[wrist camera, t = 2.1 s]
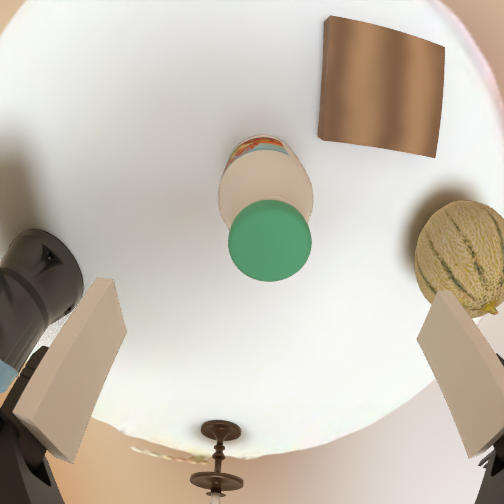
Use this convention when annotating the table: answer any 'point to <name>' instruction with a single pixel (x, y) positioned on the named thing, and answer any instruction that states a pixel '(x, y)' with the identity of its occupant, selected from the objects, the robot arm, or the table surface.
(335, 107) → the block
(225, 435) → the candlestick
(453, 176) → the table surface
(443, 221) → the cantaloupe
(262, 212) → the milk bottle
